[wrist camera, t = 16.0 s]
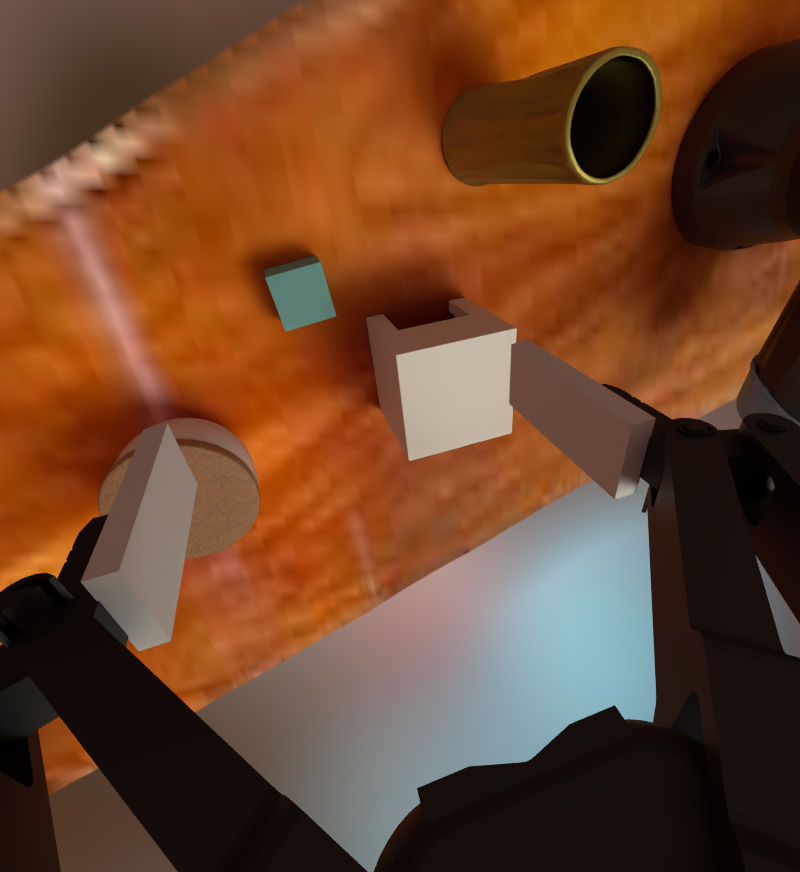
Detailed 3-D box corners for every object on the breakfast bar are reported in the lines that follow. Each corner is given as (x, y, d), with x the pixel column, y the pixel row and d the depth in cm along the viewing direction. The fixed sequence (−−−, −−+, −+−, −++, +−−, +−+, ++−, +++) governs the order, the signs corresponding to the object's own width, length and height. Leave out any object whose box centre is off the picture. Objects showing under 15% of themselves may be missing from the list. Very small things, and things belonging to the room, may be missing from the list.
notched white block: (466, 387, 42) (511, 432, 35) (380, 408, 41) (408, 461, 33) (464, 297, 37) (516, 328, 30) (366, 317, 36) (395, 355, 28)
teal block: (330, 305, 35) (336, 316, 32) (282, 320, 34) (285, 331, 32) (315, 254, 32) (320, 262, 30) (263, 269, 32) (265, 277, 29)
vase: (525, 93, 31) (692, 48, 19) (506, 190, 34) (640, 201, 22) (448, 77, 29) (582, 15, 17) (435, 181, 32) (541, 188, 20)
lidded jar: (114, 394, 33) (74, 461, 26) (258, 398, 37) (261, 457, 29) (132, 502, 38) (104, 584, 31) (257, 495, 42) (259, 568, 34)
